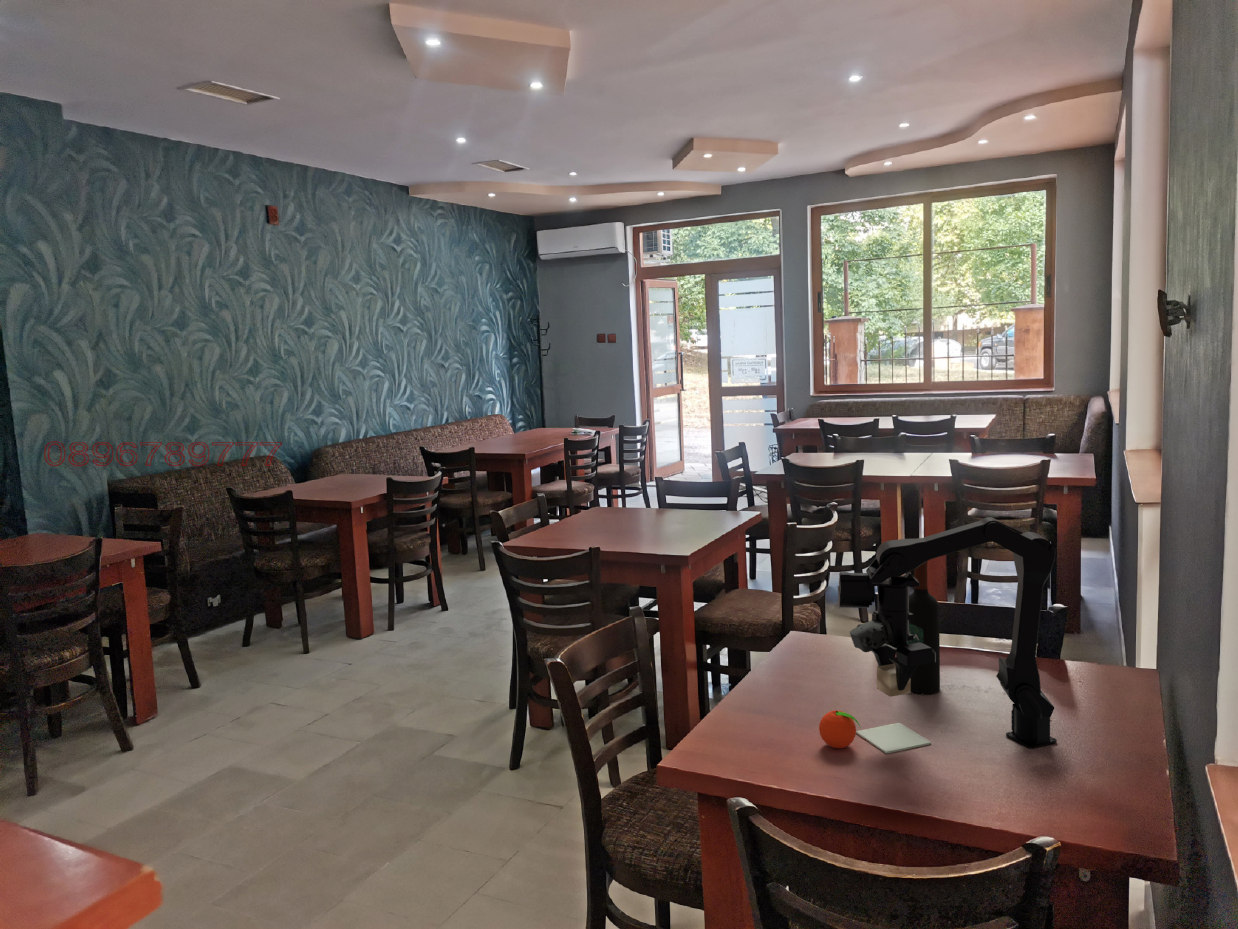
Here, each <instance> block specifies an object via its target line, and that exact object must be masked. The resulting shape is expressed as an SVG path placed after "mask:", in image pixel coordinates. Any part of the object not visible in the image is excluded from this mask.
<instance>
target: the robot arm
mask: <svg viewBox="0 0 1238 929" xmlns="http://www.w3.org/2000/svg"><path fill="white" fill-rule="evenodd" d="M989 543H995V544H996V545H999V546H1000V547H1002V548H1004V549H1007V550H1008V551H1010V552H1012V553H1013V562H1014V566H1015V571H1016V576H1017V585H1016V586H1017V587H1016V598H1015V605H1014V607H1015V608H1014V615H1013V627H1012V637H1011V645H1010V652H1009V653H1008V656H1006V658H1002V657H998V672H997V674H996V677H995V678H997V679H998V681H999V683H1000V684H999V685H1000V687H1001V688H1002V689H1003V691H1004V692H1005V694H1006V695H1007V697H1008V698H1009V700H1010V701H1011V702H1012V704H1011V705H1012V708H1011V731H1008V732H1006V733H1005V736H1006V737H1008V738H1010V739H1012V740H1013V741H1014V742H1017V743H1019V744H1021V745H1023V746H1025V747H1026V748H1028V749H1034V748H1037V747H1043V746H1046V745H1052V744H1055V743H1057V742H1058V741H1057V740H1058V739H1056V738H1055V737H1053V736H1051V717H1052V715H1053V712H1054V710H1055V706H1054V705H1053V704H1052V703H1051V701H1050V699H1048V697H1047V696H1046V695H1045V694H1044V692H1043V691H1042V690H1041V689H1042V687H1041V678H1040V677H1041V676H1040V672H1039V668H1038V663H1037V649H1038V640H1039V632H1040V631H1039V630H1040V621H1041V610H1042V601H1043V593H1044V592H1043V591H1044V586H1045V584H1046V581H1047V580H1048V578H1049V576H1050V574H1051V573H1052V571H1053V566H1054V563H1055V559H1056V556H1057V551H1056V548H1055V546H1054V545H1053V544H1052V542H1050V541H1049V540H1048V539H1046V538H1045V537H1043V536H1042V535H1040V534H1039V533H1037V532H1035V531H1034V532H1033V531H1025V532H1022V531H1021V530H1018V529H1016V528H1015V527H1012V526H1010V525H1008V524H1005V523H1003V522H1001V521H999V520H997V519H996V518H995V517H991V516H990V517H989V516H988V517H984V518H982V519H981V520H978V521H975V522H971V523H967V524H964V525H960V526H958V527H954V528H950V529H948V530H943V531H941V532H938V533H934V534H930V535H928V536H924V537H918V538H900V539H892V540H886V541H884V542H882V543H881V544H879V546H878V548H877V549H876V554H875V556H876V557H875V558H874V559H873V561H872V562H871V563H870V564H869V565H868V567H867V568H866V569H865V572H848V571H839V573H838V575H839V576H838V577H839V578H838V585H837V602H838V607H839V609H841V608H844V609H846V608H847V609H848V608H850V609H851V608H853V609H854V608H855V609H857V608H861V609H863V608H864V609H868V608H870V606H872V605H873V604H874V603H875V601H876V587H877V610H874V611H872V613H871V620H869V621H867V622H864V623H858V624H857V625H856V627H855V628H853V629H851V630H850V631H849V635H850V638H851V641H852V643H853V647H854V648H856V649H859V650H861V652H864V653H869V652H871V653H873V655H874V657H875V660H876V663H877V666H883V665H890V664H895V668H896V679H897V686H898V690H899V691H901V690H904V689H905V687H906V685H907V683H908V681H909V679H910V677H911V676H912V674H913V672H914V670H915V669H916V667H917V666H918V665H924V664H930V663H935V662H936V652H935V651H934V650H933V649H932V648H931V647H929V646H927V645H925V644H923V643H921V642H920V643H913V644H907V643H908V641H911V640H914V635H912V634H910V633H909V620H913V619H914V614H912V613H910V612H909V595H910V588H909V587H912V588H913V587H918V586H920V583H919V582H918V580H917V579H916V578H915V577H914V575H913V574H912V571H914V569H916V568H918V567H919V566H920V565H922V564H923V563H925V562H926V561H927V562H928V561H931V560H933V559H936V558H940V557H944V556H946V555H950V554H953V553H956V552H957V553H958V552H960V551H963V550H967V549H971V548H975V547H977V546H981V545H986V544H989Z"/></svg>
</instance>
